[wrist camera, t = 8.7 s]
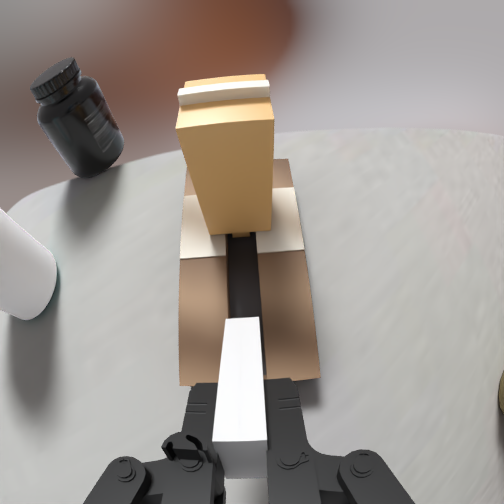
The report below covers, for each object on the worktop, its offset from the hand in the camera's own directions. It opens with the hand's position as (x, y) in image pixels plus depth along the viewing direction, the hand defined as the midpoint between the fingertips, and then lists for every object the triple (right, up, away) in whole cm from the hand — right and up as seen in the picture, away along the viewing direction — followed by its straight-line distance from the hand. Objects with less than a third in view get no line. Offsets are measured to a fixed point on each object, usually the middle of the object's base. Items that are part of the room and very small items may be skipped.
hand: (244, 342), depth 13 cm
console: (0, +3, +8) cm, 8 cm away
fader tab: (0, +7, +8) cm, 10 cm away
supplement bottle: (-17, +15, +14) cm, 26 cm away
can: (-20, +1, +8) cm, 21 cm away
